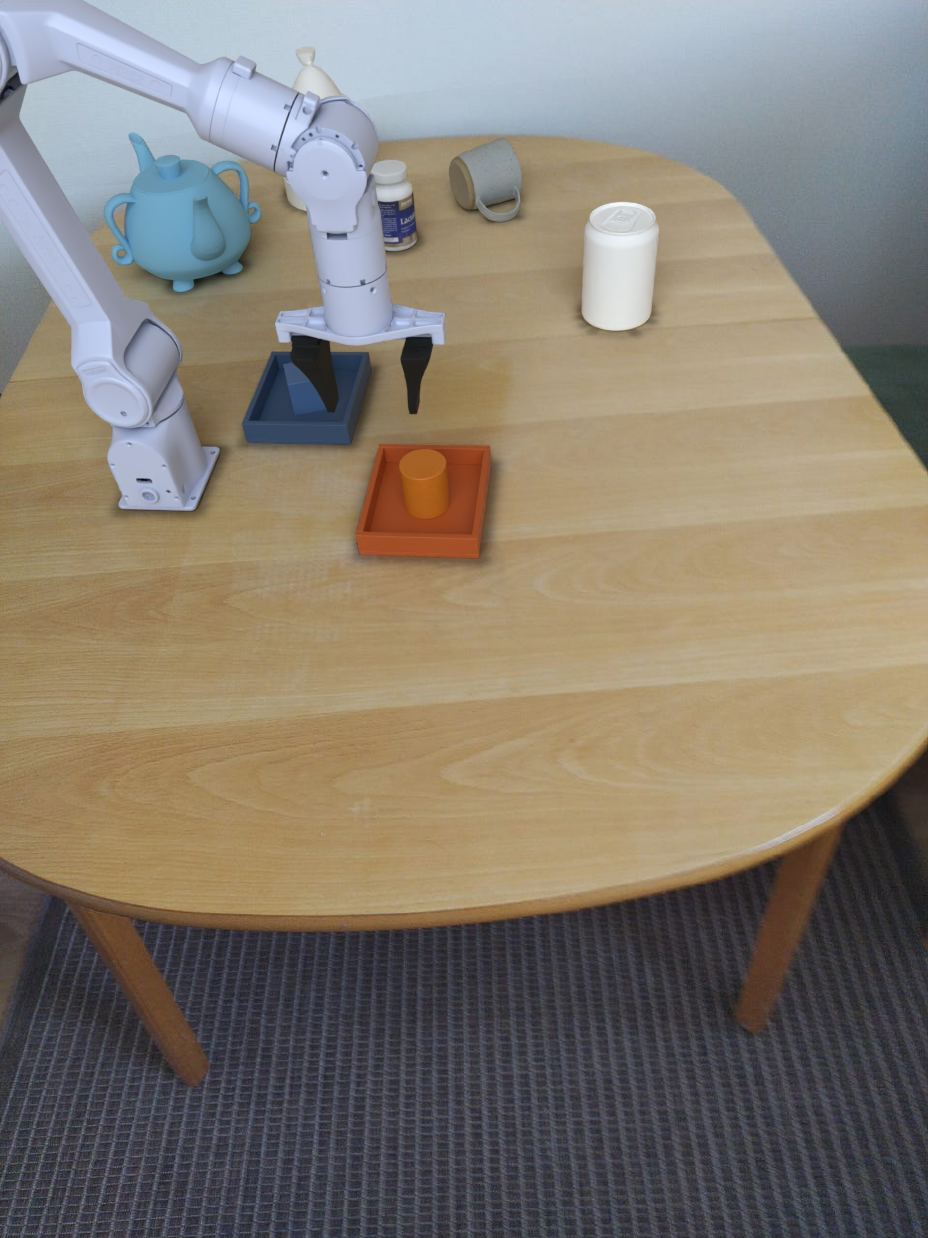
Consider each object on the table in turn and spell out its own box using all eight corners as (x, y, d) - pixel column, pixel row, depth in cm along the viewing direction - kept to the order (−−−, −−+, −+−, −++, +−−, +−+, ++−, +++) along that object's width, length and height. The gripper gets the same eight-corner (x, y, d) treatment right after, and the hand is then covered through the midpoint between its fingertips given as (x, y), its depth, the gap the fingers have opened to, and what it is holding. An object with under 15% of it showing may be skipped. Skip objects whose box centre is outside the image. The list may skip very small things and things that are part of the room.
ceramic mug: (447, 200, 133) (443, 144, 127) (497, 184, 135) (496, 128, 129) (483, 231, 127) (481, 174, 121) (536, 214, 129) (536, 157, 123)
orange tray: (479, 558, 87) (477, 539, 85) (359, 554, 88) (355, 535, 86) (491, 465, 95) (490, 445, 93) (382, 462, 96) (378, 443, 94)
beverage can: (570, 326, 110) (573, 227, 101) (597, 292, 115) (601, 194, 106) (635, 341, 108) (644, 240, 99) (660, 305, 112) (671, 206, 103)
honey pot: (280, 181, 141) (252, 47, 127) (363, 165, 142) (344, 31, 129) (296, 219, 132) (267, 80, 119) (384, 201, 134) (366, 62, 121)
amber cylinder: (447, 520, 89) (443, 479, 86) (401, 518, 90) (395, 478, 86) (452, 489, 92) (448, 448, 88) (408, 488, 93) (402, 448, 89)
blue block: (331, 408, 102) (325, 377, 99) (295, 416, 102) (287, 384, 99) (326, 387, 105) (319, 356, 102) (290, 394, 104) (283, 363, 101)
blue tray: (350, 444, 99) (347, 425, 97) (247, 442, 100) (241, 423, 98) (371, 370, 107) (368, 351, 105) (276, 369, 108) (271, 351, 107)
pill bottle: (412, 253, 124) (404, 177, 116) (370, 251, 125) (359, 176, 117) (422, 232, 128) (415, 157, 120) (381, 230, 129) (371, 155, 121)
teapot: (232, 307, 118) (202, 195, 107) (99, 290, 123) (57, 182, 112) (287, 243, 128) (264, 136, 117) (162, 230, 133) (129, 125, 122)
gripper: (446, 244, 79) (456, 382, 89) (277, 244, 80) (306, 379, 91) (435, 289, 74) (447, 429, 84) (256, 288, 76) (289, 425, 86)
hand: (373, 406), depth 87 cm, fingers open, 7 cm apart
